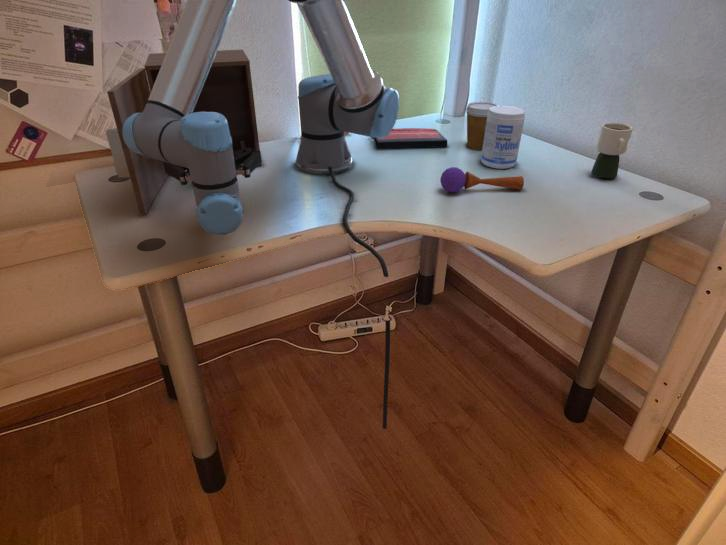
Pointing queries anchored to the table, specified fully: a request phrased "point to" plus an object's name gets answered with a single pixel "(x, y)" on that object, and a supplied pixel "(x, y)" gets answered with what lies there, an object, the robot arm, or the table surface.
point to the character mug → (611, 148)
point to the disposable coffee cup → (477, 123)
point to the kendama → (475, 180)
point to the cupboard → (219, 94)
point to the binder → (411, 139)
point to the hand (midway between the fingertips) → (212, 149)
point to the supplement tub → (502, 136)
